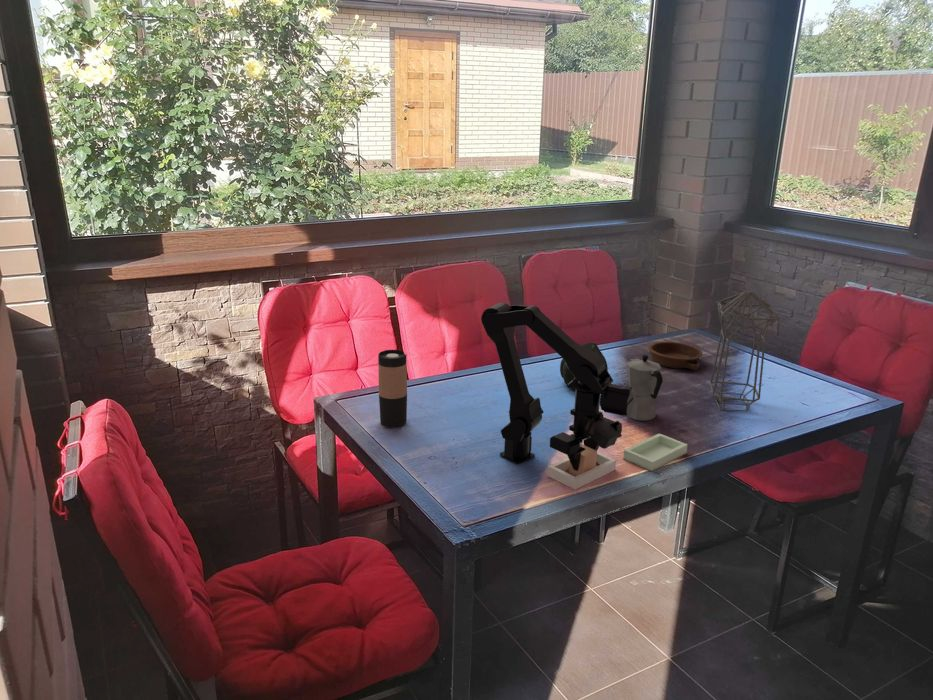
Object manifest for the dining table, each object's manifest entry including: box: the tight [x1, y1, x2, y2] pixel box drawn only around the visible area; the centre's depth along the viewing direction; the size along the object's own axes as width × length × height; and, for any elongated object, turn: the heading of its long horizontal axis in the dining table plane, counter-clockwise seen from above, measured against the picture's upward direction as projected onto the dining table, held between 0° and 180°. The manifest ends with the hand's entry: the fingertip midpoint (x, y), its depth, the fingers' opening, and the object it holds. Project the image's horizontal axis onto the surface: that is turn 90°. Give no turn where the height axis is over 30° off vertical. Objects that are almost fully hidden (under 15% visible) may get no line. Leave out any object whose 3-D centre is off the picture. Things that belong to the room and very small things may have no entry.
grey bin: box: [547, 451, 617, 490], centre depth 178 cm, size 15×8×2 cm, turn 131°
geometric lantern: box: [709, 290, 781, 413], centre depth 213 cm, size 16×16×35 cm
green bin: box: [622, 433, 688, 472], centre depth 187 cm, size 15×8×2 cm, turn 131°
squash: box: [559, 341, 609, 386], centre depth 230 cm, size 14×15×15 cm
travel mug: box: [377, 349, 408, 429], centre depth 200 cm, size 8×8×20 cm
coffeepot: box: [627, 354, 664, 422], centre depth 207 cm, size 15×9×18 cm, turn 19°
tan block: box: [568, 443, 598, 477], centre depth 177 cm, size 4×4×6 cm
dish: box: [648, 341, 703, 371], centre depth 253 cm, size 18×22×5 cm
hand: (582, 466), depth 178 cm, fingers closed on tan block, 4 cm apart
